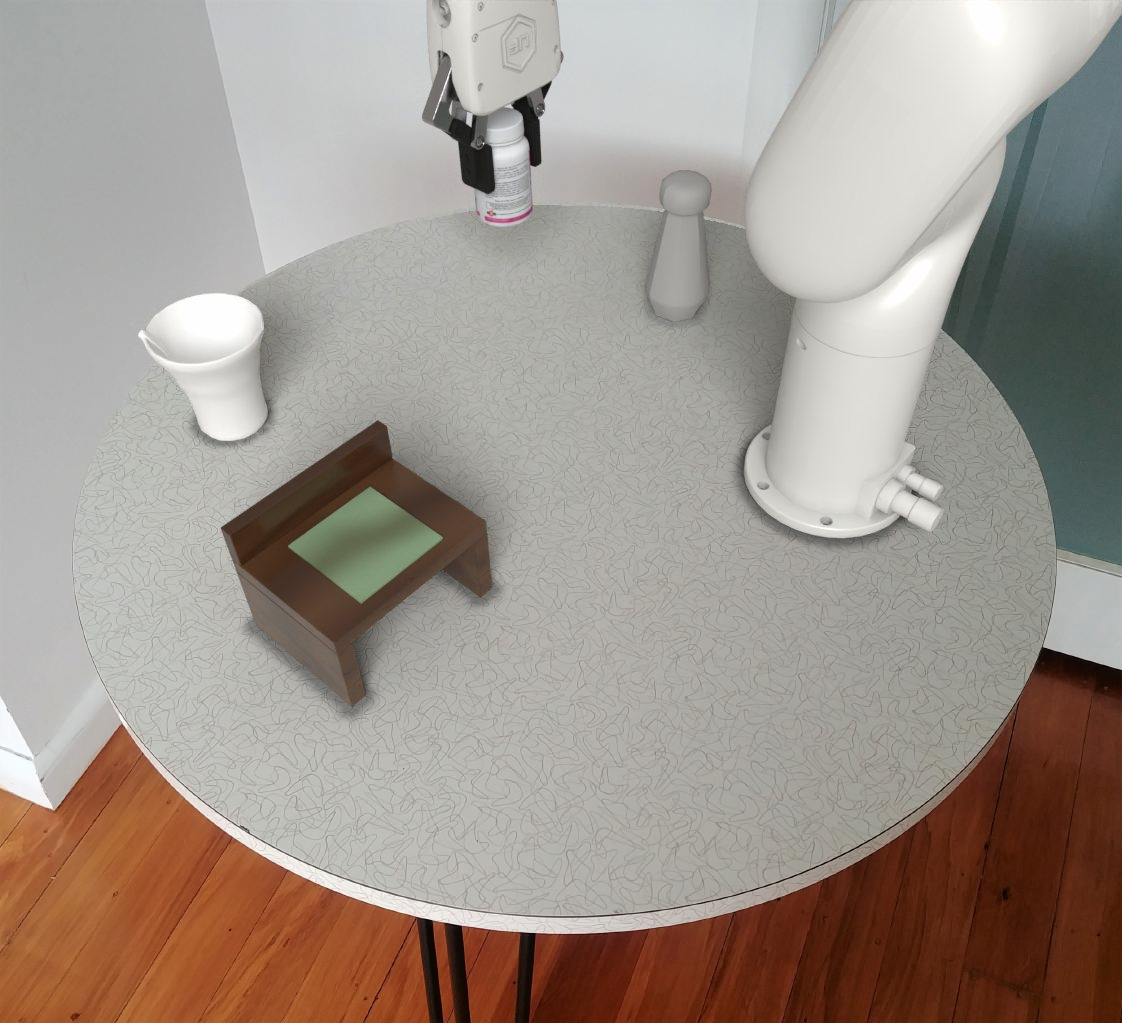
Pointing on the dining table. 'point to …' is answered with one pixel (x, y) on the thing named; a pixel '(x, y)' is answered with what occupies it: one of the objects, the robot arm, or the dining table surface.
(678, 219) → the salt shaker
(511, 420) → the dining table surface
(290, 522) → the shelf
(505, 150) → the pill bottle
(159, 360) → the cup
